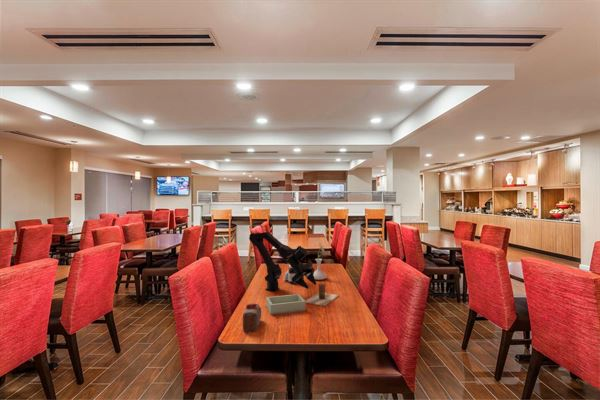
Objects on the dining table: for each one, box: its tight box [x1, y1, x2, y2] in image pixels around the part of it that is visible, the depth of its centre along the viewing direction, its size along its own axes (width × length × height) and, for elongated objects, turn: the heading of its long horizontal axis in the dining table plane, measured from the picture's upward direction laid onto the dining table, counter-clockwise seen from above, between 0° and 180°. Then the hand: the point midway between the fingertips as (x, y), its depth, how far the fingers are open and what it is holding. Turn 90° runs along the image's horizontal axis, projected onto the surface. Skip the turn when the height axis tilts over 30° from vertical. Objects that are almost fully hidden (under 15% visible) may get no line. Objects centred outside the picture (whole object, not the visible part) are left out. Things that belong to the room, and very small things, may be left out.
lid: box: [304, 283, 339, 307], centre depth 176 cm, size 13×19×9 cm
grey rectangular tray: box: [265, 293, 306, 316], centre depth 161 cm, size 12×18×5 cm, turn 107°
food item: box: [241, 302, 262, 333], centre depth 141 cm, size 14×8×10 cm, turn 4°
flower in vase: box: [314, 242, 328, 281], centre depth 219 cm, size 13×11×25 cm
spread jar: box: [283, 264, 296, 284], centre depth 211 cm, size 12×11×12 cm
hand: (312, 286), depth 179 cm, fingers open, 9 cm apart
